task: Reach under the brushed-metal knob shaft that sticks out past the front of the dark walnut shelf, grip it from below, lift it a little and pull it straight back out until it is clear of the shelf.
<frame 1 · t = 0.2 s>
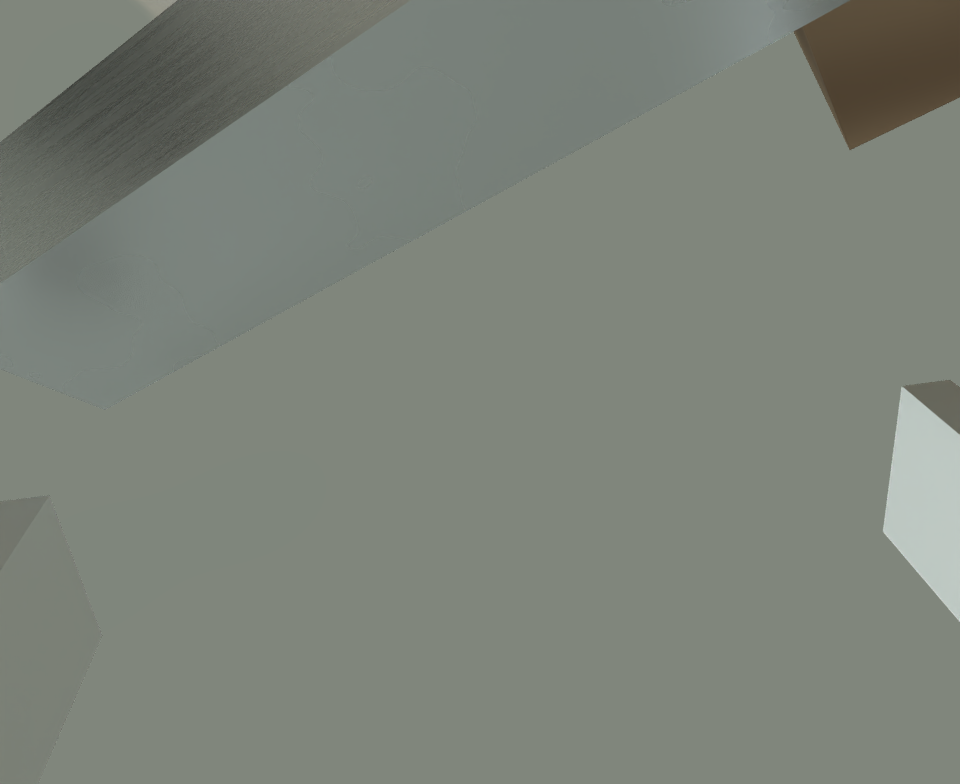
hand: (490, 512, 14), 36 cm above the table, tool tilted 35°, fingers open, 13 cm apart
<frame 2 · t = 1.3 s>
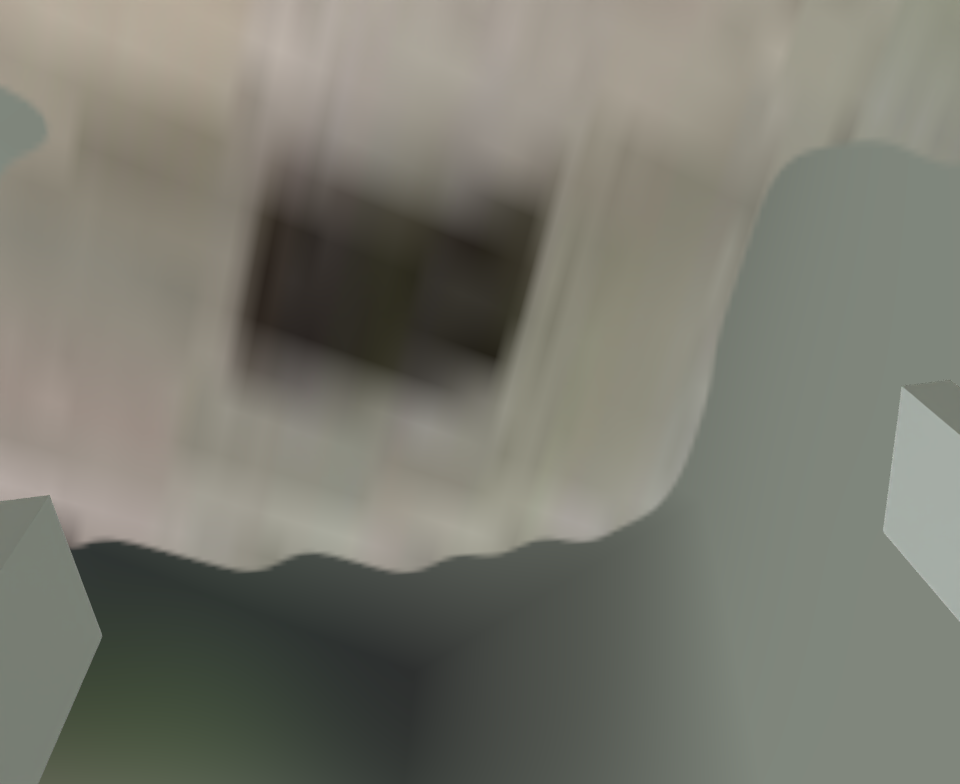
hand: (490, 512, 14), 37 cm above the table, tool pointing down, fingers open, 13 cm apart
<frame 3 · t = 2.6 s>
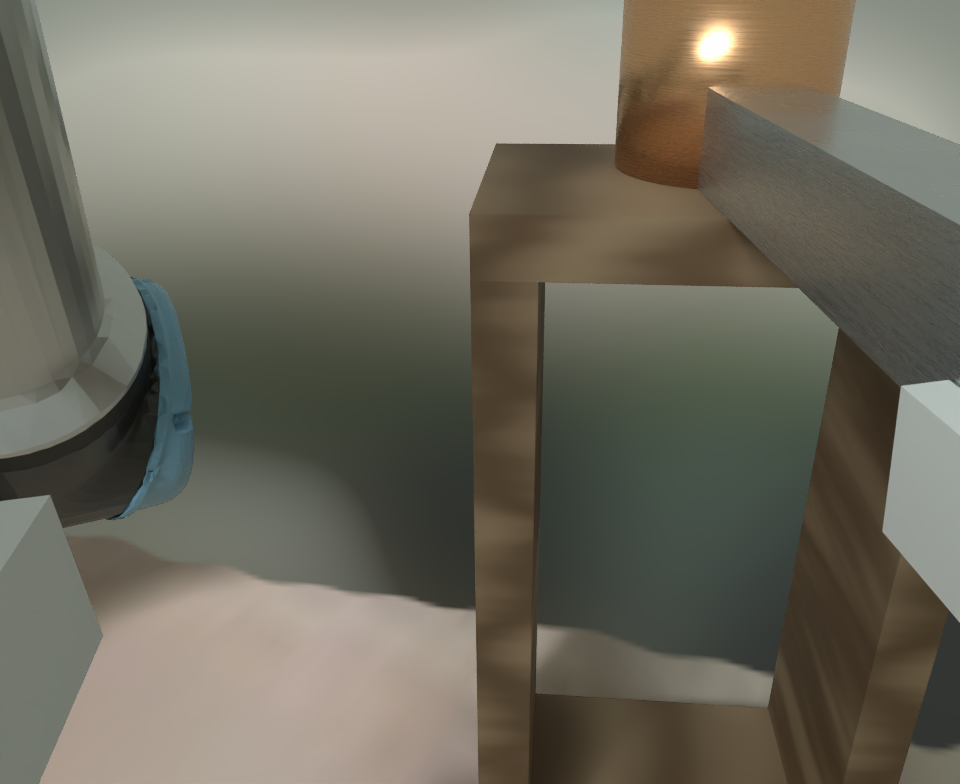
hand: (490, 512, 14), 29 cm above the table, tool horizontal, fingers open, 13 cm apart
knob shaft: (794, 228, 23), point 30 cm above the table, touching gripper
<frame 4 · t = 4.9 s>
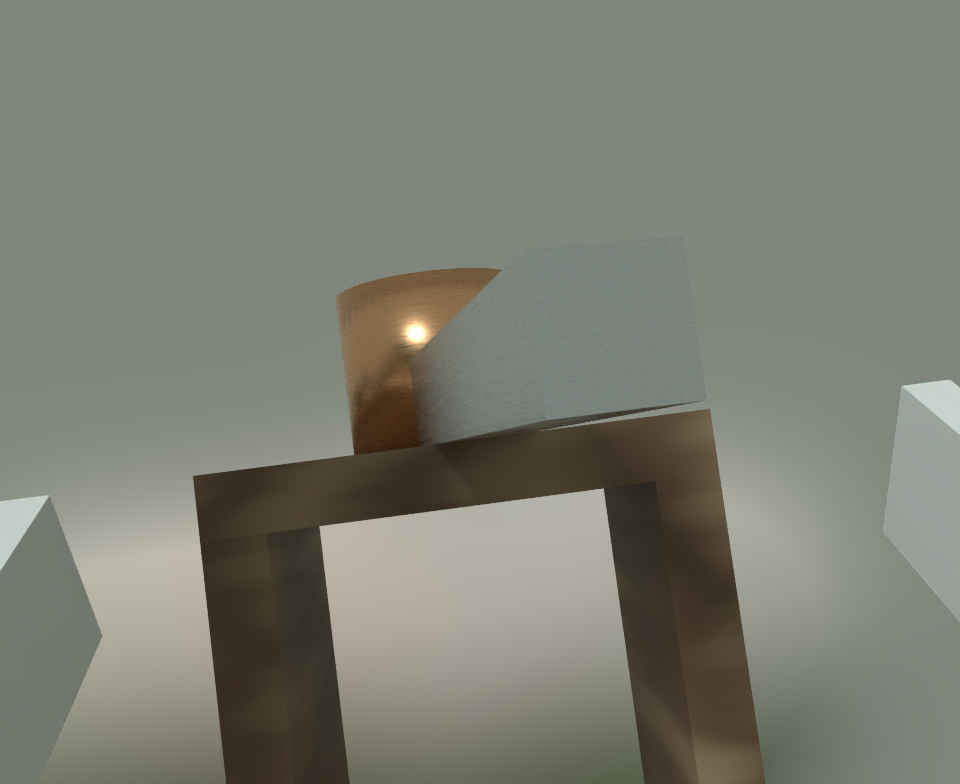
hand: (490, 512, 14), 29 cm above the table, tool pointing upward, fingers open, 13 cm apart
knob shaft: (490, 436, 26), point 30 cm above the table, touching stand
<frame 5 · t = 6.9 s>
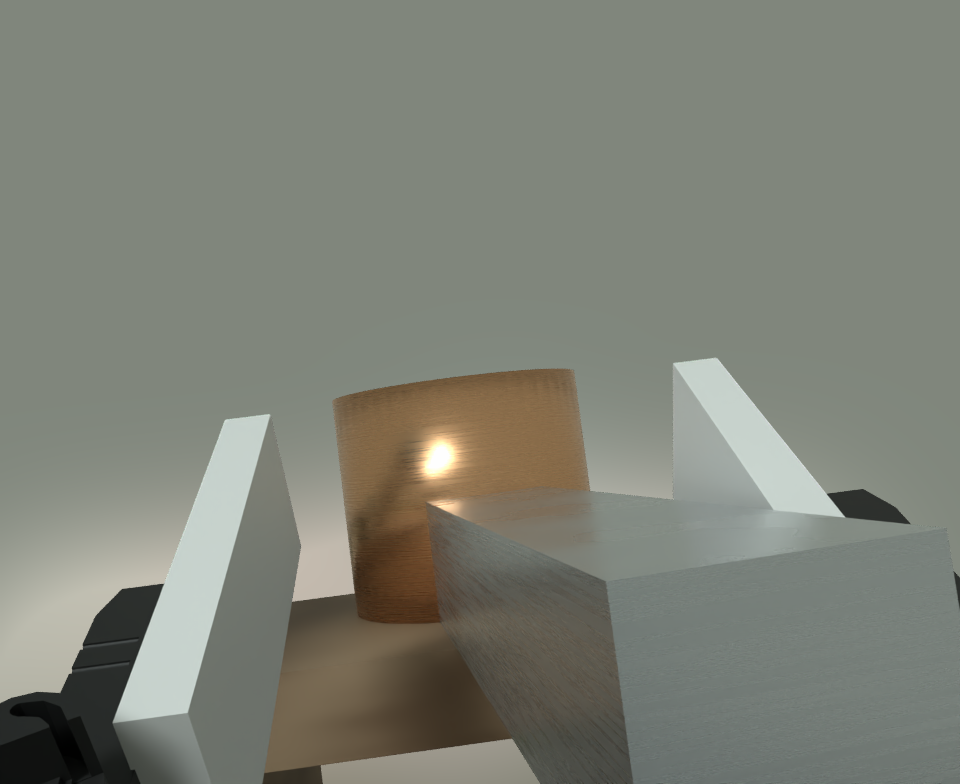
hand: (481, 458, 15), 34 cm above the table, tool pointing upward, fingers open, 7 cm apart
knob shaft: (536, 648, 18), point 30 cm above the table, touching gripper, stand
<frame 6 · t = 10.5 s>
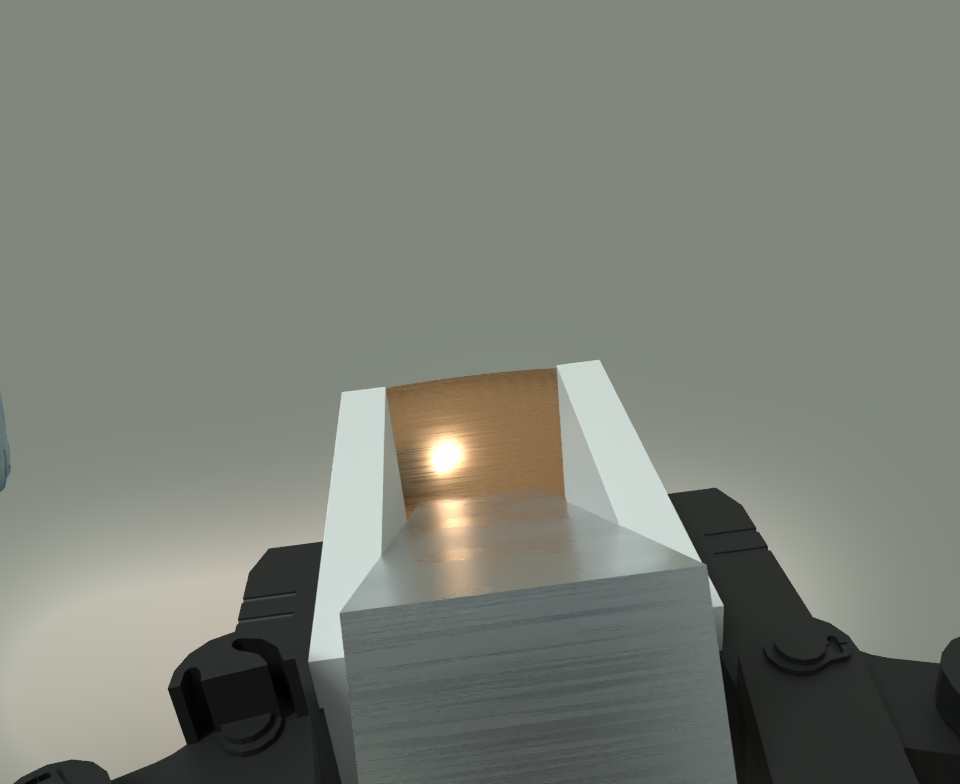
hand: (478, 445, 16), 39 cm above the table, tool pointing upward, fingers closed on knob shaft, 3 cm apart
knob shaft: (502, 652, 18), point 34 cm above the table, touching gripper
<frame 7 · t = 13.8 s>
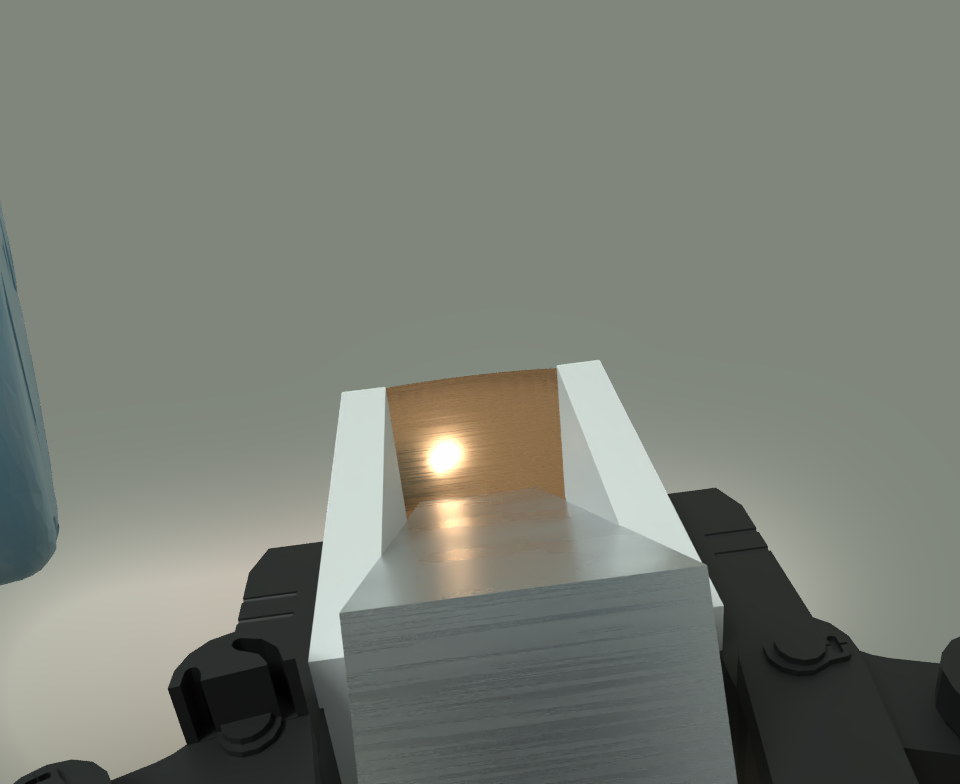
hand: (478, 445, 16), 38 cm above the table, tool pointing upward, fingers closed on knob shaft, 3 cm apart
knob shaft: (502, 652, 18), point 34 cm above the table, touching gripper
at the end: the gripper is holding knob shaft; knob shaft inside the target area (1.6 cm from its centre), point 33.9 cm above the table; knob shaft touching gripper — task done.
